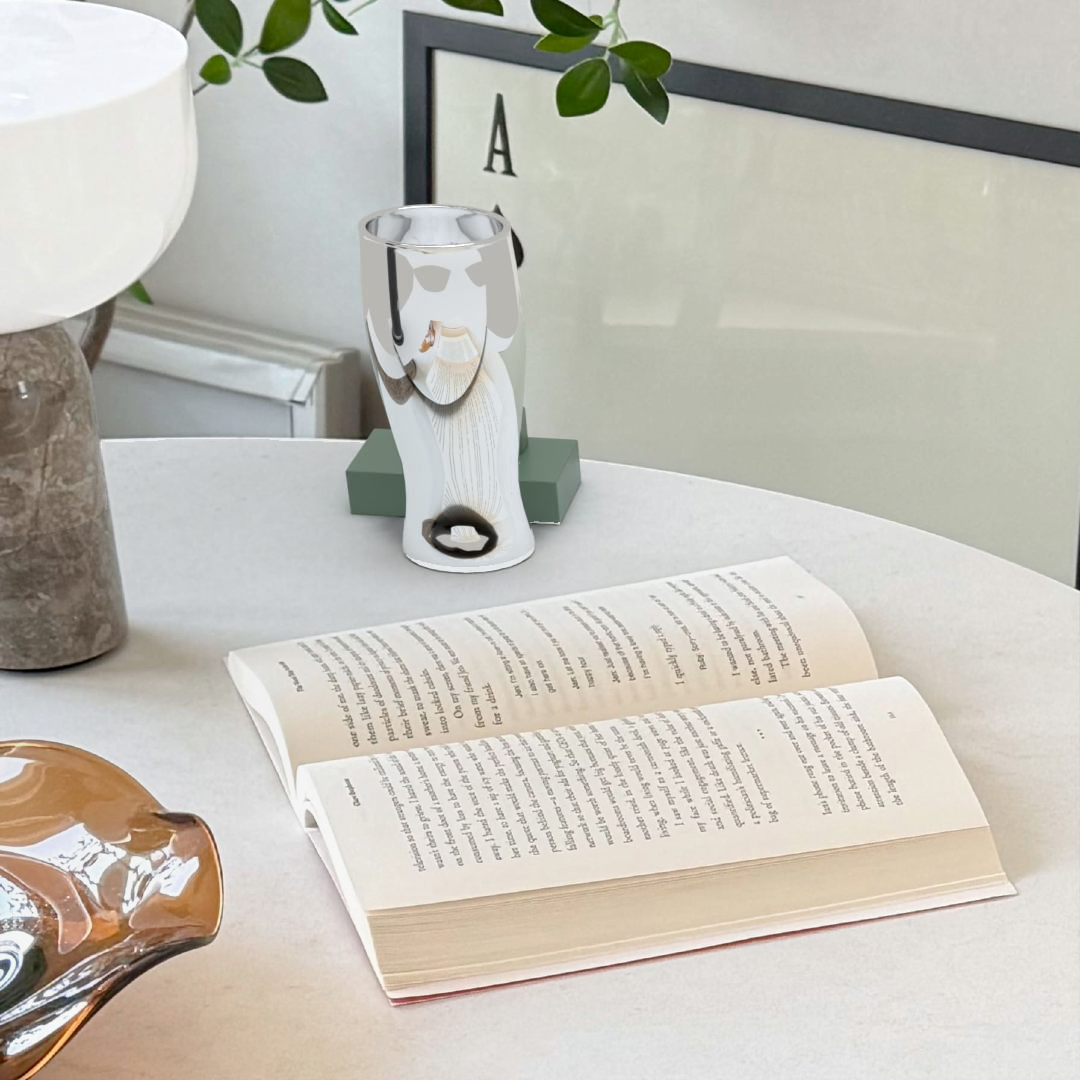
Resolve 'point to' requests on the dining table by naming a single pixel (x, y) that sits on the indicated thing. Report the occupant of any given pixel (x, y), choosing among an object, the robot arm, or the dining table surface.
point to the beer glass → (450, 376)
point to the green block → (542, 470)
